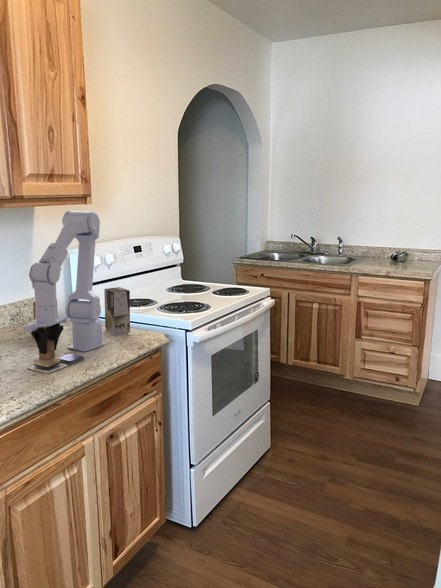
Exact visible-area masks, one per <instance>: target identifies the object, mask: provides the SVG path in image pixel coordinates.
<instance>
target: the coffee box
mask: <svg viewBox="0 0 441 588" xmlns="http://www.w3.org/2000/svg"><path fill="white" fill-rule="evenodd" d="M103 290H104V293H103V295H104V323H105V332H107V333H109V334H110V335H113V336H114V337H116V336H117V335H118V336H123V334H126V335H129V334H128V333H130V334H131V312H130V311H131V307H130V306H131V303H130V302H131V295H130V293H131V291H130V290H129V289H126V288H123V287H118V286H117V287H109V288H104V289H103Z"/></svg>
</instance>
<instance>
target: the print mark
mask: <svg viewBox="0 0 441 588" xmlns="http://www.w3.org/2000/svg"><path fill="white" fill-rule="evenodd" d="M69 366H70V365H67V364H63V363H60V364H59V365H56V366H54V367H51V368H48V369H46V368H41V367H36V366H34V365H32V366H29V367H27V370H29V371H34V372H38V373H42V374H46V375H49V374H52V373H54V372H58V371H60V370H63V369H65V368H67V367H69Z"/></svg>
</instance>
